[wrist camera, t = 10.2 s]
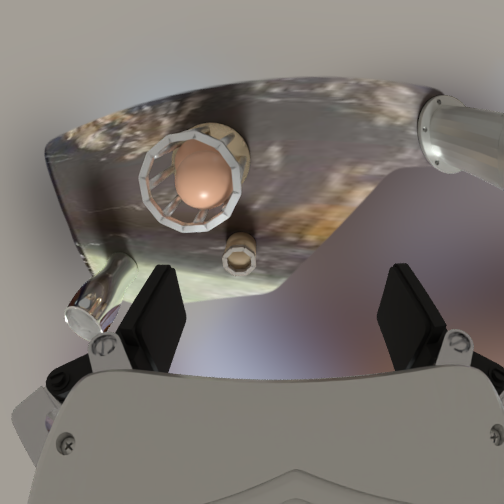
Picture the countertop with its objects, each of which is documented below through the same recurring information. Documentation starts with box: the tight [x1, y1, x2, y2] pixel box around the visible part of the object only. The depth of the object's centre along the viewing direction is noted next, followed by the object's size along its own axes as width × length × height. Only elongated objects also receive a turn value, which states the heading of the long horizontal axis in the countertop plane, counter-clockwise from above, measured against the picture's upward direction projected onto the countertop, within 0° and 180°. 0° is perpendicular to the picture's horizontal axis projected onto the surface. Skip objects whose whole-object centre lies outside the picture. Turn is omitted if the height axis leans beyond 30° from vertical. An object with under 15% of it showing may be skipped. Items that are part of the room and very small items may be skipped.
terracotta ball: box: [175, 150, 233, 209], centre depth 26 cm, size 6×6×6 cm
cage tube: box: [139, 123, 250, 233], centre depth 29 cm, size 10×10×13 cm
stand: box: [222, 232, 256, 276], centre depth 38 cm, size 4×4×5 cm
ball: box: [175, 139, 220, 171], centre depth 31 cm, size 6×6×6 cm
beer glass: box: [64, 252, 138, 341], centre depth 37 cm, size 7×7×15 cm
